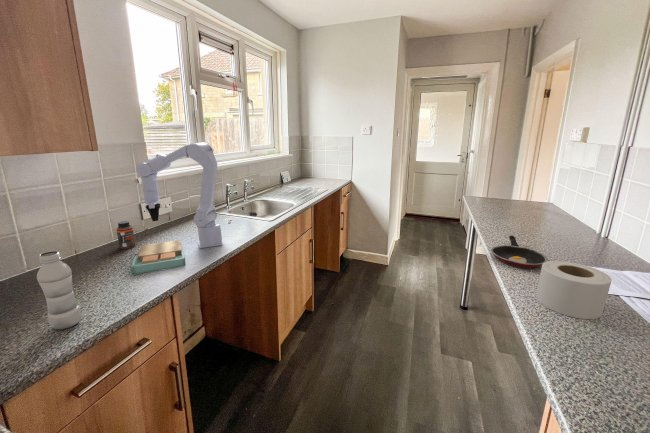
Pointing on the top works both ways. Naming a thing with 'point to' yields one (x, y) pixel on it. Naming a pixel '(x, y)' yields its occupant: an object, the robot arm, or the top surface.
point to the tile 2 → (168, 256)
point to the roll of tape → (573, 289)
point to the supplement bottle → (125, 235)
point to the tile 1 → (150, 259)
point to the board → (160, 249)
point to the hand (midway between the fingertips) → (155, 220)
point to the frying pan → (518, 255)
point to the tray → (157, 264)
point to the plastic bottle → (58, 291)
